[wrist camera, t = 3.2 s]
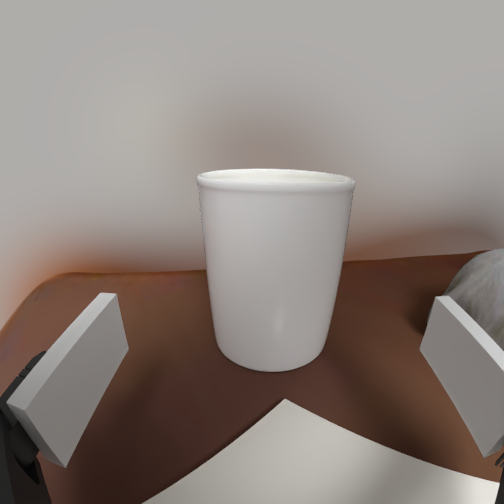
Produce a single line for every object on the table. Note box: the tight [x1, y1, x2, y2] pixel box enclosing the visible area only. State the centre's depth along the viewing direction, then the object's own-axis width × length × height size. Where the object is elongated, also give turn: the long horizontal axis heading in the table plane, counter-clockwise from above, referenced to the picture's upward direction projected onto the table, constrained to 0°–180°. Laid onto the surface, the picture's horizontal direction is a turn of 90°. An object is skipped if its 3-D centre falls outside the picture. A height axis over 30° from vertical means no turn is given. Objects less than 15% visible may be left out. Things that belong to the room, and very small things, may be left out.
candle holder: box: [197, 169, 355, 372], centre depth 21 cm, size 10×10×12 cm
